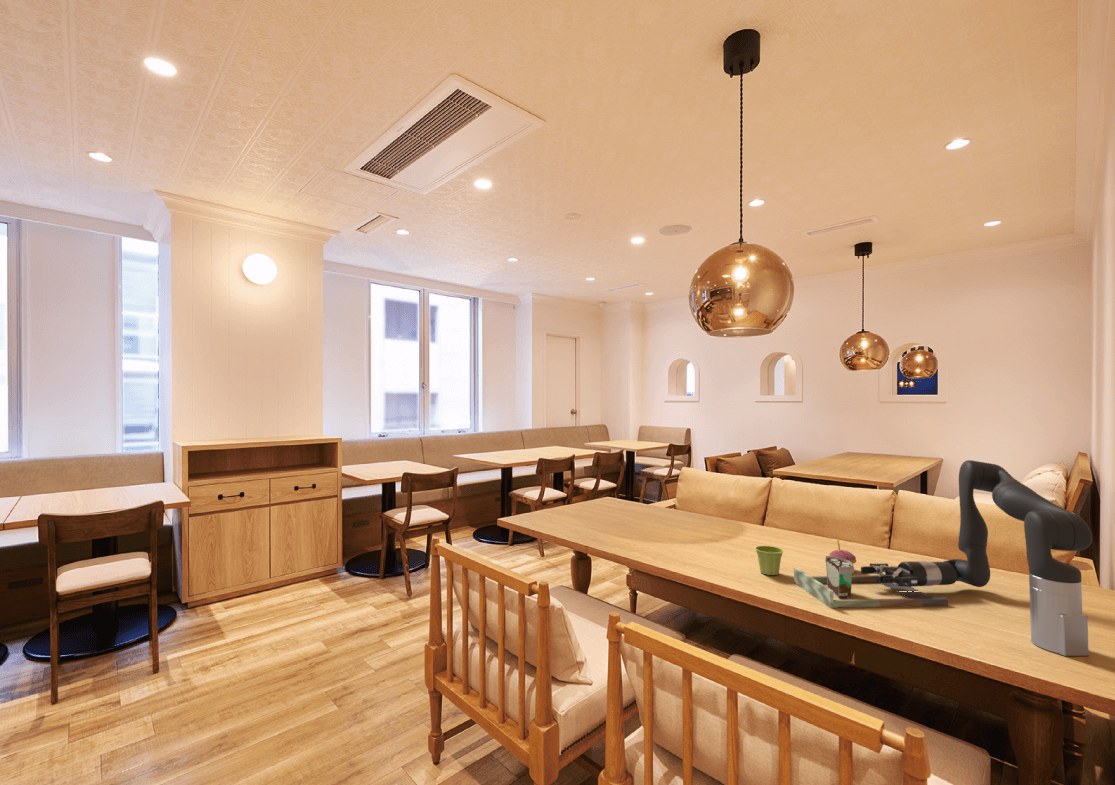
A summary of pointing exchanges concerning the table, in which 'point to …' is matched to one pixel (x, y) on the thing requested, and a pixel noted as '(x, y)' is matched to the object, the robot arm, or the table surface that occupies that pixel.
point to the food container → (839, 576)
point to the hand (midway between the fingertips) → (870, 574)
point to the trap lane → (826, 596)
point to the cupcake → (843, 554)
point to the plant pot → (769, 559)
